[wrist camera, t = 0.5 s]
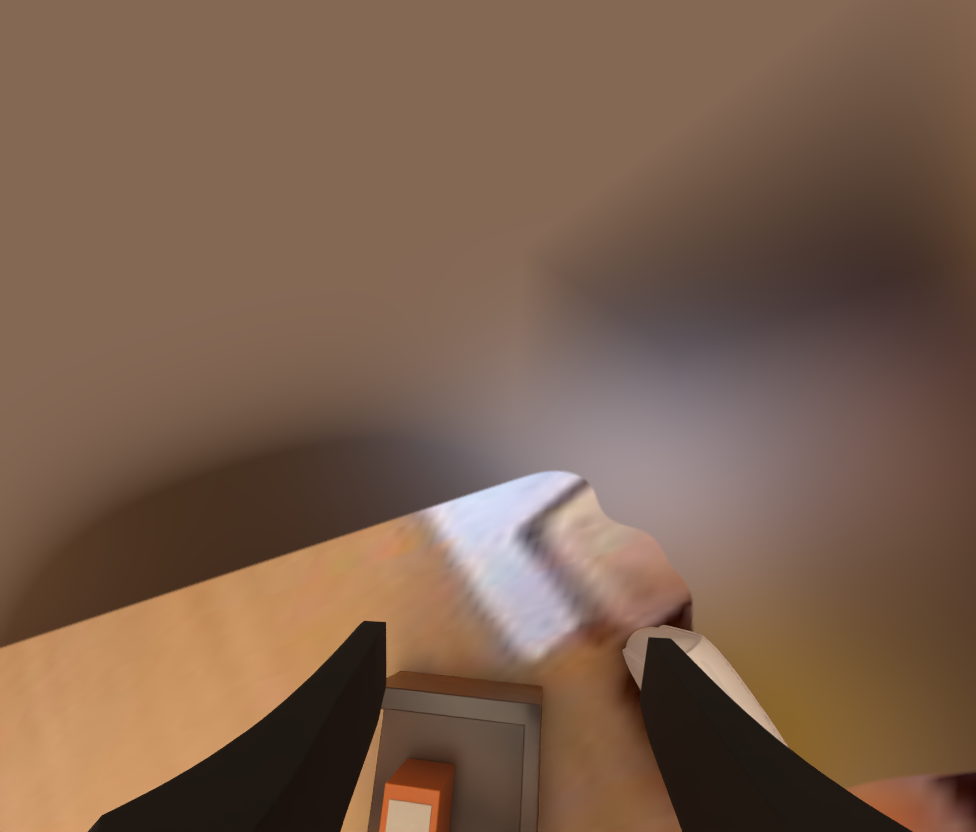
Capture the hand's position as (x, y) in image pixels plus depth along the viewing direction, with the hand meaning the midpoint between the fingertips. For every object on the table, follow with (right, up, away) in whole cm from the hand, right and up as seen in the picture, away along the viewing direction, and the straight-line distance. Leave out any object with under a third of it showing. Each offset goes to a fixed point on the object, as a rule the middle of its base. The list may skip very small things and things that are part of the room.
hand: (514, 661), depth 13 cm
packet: (-5, -19, +17) cm, 26 cm away
